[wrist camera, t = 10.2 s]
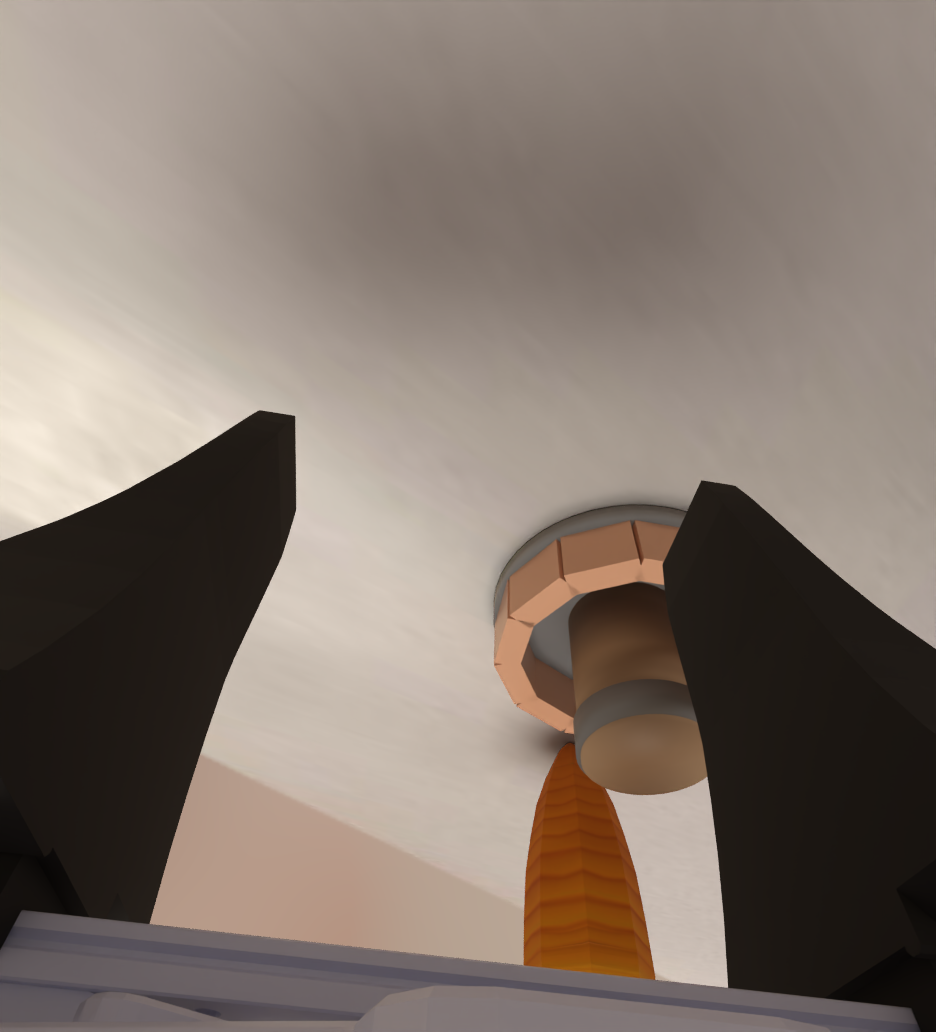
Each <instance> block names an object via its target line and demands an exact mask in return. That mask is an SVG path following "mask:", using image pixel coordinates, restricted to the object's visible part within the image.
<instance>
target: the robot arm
mask: <svg viewBox="0 0 936 1032" xmlns="http://www.w3.org/2000/svg"><path fill="white" fill-rule="evenodd" d="M295 512H296V452H295V416H292V415H286V414H280V413H273V412H267V411H261V410H259V411H257V412H256V413H254V414H252V415H250V416H249V417H247V418H246V419H244V420H243V421H241V422H239V423H238V424H236V425H235V426H233V427H232V428H230V429H229V430H227V431H226V432H224V433H222V434H221V435H219V436H218V437H216V438H215V439H213V440H212V441H210V442H208V443H207V444H205V445H204V446H202V447H200V448H199V449H197V450H196V451H194V452H192V453H191V454H189V455H188V456H186V457H184V458H183V459H181V460H179V461H178V462H176V463H174V464H172V465H170V466H169V467H167V468H165V469H163V470H161V471H160V472H158V473H156V474H154V475H152V476H151V477H149V478H147V479H145V480H143V481H141V482H140V483H138V484H136V485H134V486H132V487H131V488H129V489H127V490H125V491H123V492H121V493H119V494H117V495H115V496H113V497H110V498H108V499H106V500H104V501H102V502H100V503H98V504H95V505H93V506H91V507H88V508H86V509H84V510H81V511H79V512H77V513H75V514H72V515H70V516H68V517H65V518H63V519H60V520H58V521H55V522H53V523H50V524H47V525H44V526H41V527H39V528H36V529H33V530H30V531H27V532H25V533H22V534H19V535H16V536H13V537H11V538H8V539H5V540H2V541H0V1032H936V649H935V648H933V647H932V646H930V645H929V644H928V643H926V642H925V641H923V640H922V639H921V638H919V637H918V636H916V635H915V634H913V633H912V632H911V631H909V630H908V629H906V628H905V627H904V626H902V625H901V624H899V623H898V622H896V621H895V620H894V619H892V618H891V617H890V616H888V615H887V614H886V613H884V612H883V611H882V610H880V609H879V608H878V607H876V606H875V605H874V604H873V603H871V602H870V601H869V600H868V599H866V598H865V597H864V596H863V595H861V594H860V593H859V592H858V591H857V590H855V589H854V588H853V587H852V586H850V585H849V584H848V583H847V582H845V581H844V580H843V579H842V578H841V577H839V576H838V575H837V574H836V573H835V572H834V571H832V570H831V569H830V568H829V567H828V566H827V565H825V564H824V563H823V562H822V561H821V560H820V559H819V558H817V557H816V556H815V555H814V554H813V553H812V552H811V551H810V550H808V549H807V548H806V547H805V546H804V545H803V544H802V543H801V542H800V541H798V540H797V539H796V538H795V537H794V536H793V535H792V534H791V533H790V532H788V531H787V530H786V529H785V528H784V527H783V526H782V525H781V524H780V523H779V522H777V521H776V520H775V519H774V518H773V517H772V516H771V515H770V514H769V513H767V512H766V511H765V510H764V509H763V508H762V507H761V506H760V505H758V504H757V503H756V502H755V501H754V500H753V499H751V498H750V497H749V496H748V495H747V494H745V493H744V492H743V491H741V490H740V489H739V488H737V487H736V486H733V485H727V484H721V483H714V482H708V481H701V483H700V485H699V487H698V489H697V491H696V494H695V496H694V498H693V500H692V502H691V504H690V506H689V509H688V511H687V513H686V515H685V517H684V519H683V521H682V524H681V526H680V528H679V530H678V532H677V534H676V536H675V539H674V541H673V543H672V545H671V547H670V549H669V551H668V554H667V556H666V558H665V560H664V562H663V564H662V566H663V577H664V587H665V596H666V603H667V611H668V616H669V620H670V624H671V628H672V631H673V635H674V639H675V643H676V646H677V650H678V654H679V657H680V661H681V665H682V668H683V672H684V675H685V679H686V683H687V686H688V690H689V694H690V697H691V701H692V704H693V708H694V712H695V715H696V719H697V723H698V727H699V732H700V736H701V741H702V745H703V751H704V758H705V764H706V770H707V777H708V783H709V790H710V796H711V804H712V811H713V819H714V827H715V835H716V843H717V851H718V860H719V871H720V881H721V892H722V902H723V913H724V926H725V942H726V959H727V975H728V988H724V987H715V986H706V985H697V984H688V983H678V982H669V981H659V980H651V979H642V978H633V977H624V976H615V975H606V974H597V973H588V972H579V971H570V970H561V969H552V968H542V967H533V966H524V965H514V964H506V963H497V962H488V961H478V960H469V959H461V958H451V957H443V956H434V955H425V954H415V953H406V952H397V951H388V950H379V949H370V948H361V947H352V946H342V945H334V944H325V943H316V942H307V941H298V940H289V939H280V938H270V937H261V936H252V935H242V934H234V933H225V932H216V931H206V930H198V929H189V928H180V927H171V926H162V925H153V924H149V923H150V920H151V916H152V912H153V909H154V905H155V902H156V898H157V895H158V891H159V888H160V884H161V880H162V877H163V873H164V870H165V866H166V863H167V859H168V856H169V852H170V849H171V845H172V842H173V839H174V836H175V832H176V829H177V826H178V823H179V819H180V816H181V813H182V809H183V806H184V803H185V799H186V796H187V793H188V790H189V786H190V783H191V780H192V777H193V774H194V771H195V768H196V765H197V762H198V758H199V756H200V752H201V749H202V746H203V743H204V740H205V737H206V734H207V731H208V728H209V725H210V722H211V719H212V716H213V713H214V711H215V708H216V705H217V702H218V699H219V696H220V693H221V690H222V687H223V684H224V682H225V679H226V677H227V674H228V672H229V669H230V667H231V665H232V662H233V660H234V657H235V655H236V653H237V651H238V649H239V647H240V645H241V643H242V640H243V638H244V636H245V634H246V632H247V630H248V628H249V626H250V623H251V621H252V619H253V617H254V615H255V613H256V611H257V609H258V607H259V604H260V602H261V600H262V598H263V596H264V594H265V592H266V590H267V587H268V585H269V583H270V581H271V579H272V577H273V575H274V572H275V570H276V568H277V566H278V564H279V561H280V559H281V557H282V554H283V551H284V548H285V545H286V542H287V538H288V535H289V532H290V529H291V525H292V522H293V519H294V515H295Z"/></svg>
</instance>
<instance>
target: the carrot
mask: <svg viewBox="0 0 936 1032" xmlns="http://www.w3.org/2000/svg"><path fill="white" fill-rule="evenodd" d="M524 966H533V967H542V968H552V969H561V970H570V971H579V972H588V973H597V974H606V975H615V976H624V977H633V978H642V979H651V980H655V973H654V967H653V961H652V956H651V950H650V944H649V938H648V932H647V927H646V921H645V916H644V911H643V906H642V901H641V896H640V891H639V886H638V881H637V876H636V872H635V869H634V865H633V862H632V859H631V855H630V852H629V849H628V846H627V842H626V839H625V836H624V833H623V830H622V827H621V825H620V822H619V819H618V816H617V813H616V810H615V807H614V805H613V803H612V801H611V799H610V797H609V795H608V793H607V791H606V789H605V788H604V787H602V786H600V785H598V784H597V783H595V782H594V781H592V780H591V779H590V778H589V777H588V776H587V775H586V774H585V773H584V772H583V771H582V770H581V769H580V767H579V765H578V763H577V759H576V751H575V745H574V744H573V743H567V744H566V745H565V746H564V747H562V748H561V750H560V751H559V753H558V755H557V757H556V759H555V761H554V763H553V765H552V767H551V769H550V771H549V773H548V775H547V777H546V779H545V782H544V785H543V788H542V791H541V794H540V797H539V799H538V802H537V805H536V811H535V816H534V822H533V827H532V833H531V838H530V846H529V853H528V860H527V867H526V880H525V908H524Z"/></svg>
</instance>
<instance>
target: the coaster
mask: <svg viewBox="0 0 936 1032" xmlns="http://www.w3.org/2000/svg"><path fill="white" fill-rule="evenodd" d="M686 513H687V512H685V511H680V510H676V509H671V508H667V507H658V506H649V505H626V506H616V507H608V508H603V509H598V510H592V511H589V512H585V513H582V514H579V515H576V516H573V517H570V518H568V519H565V520H563V521H561V522H558V523H556V524H554V525H553V526H551V527H549V528H547V529H545V530H544V531H542V532H540V533H539V534H538V535H536V536H535V537H533V538H532V539H531V540H529V541H528V542H527V543H526V544H525V545H524V546H523V547H522V548H521V549H519V550H518V551H517V552H516V554H515V555H514V556H513V557H512V559H511V560H510V561H509V562H508V564H507V565H506V567H505V569H504V571H503V572H502V574H501V576H500V579H499V581H498V584H497V587H496V592H495V597H494V628H495V640H494V666H495V668H496V670H497V672H498V674H499V676H500V678H501V680H502V681H503V683H504V685H505V687H506V689H507V691H508V693H509V695H510V697H511V699H512V701H513V702H514V704H517V707H519V708H521V709H522V710H524V711H526V712H528V713H529V714H531V715H533V716H535V717H536V718H538V719H540V720H542V721H544V722H545V723H547V724H549V725H551V726H552V727H554V728H556V729H558V730H559V731H562V730H564V731H565V733H571V734H574V728H573V720H574V715H575V713H576V703H575V692H574V681H573V671H572V660H571V650H570V639H569V628H568V620H569V615H570V612H571V611H572V609H573V607H574V606H575V604H576V603H577V602H578V601H579V600H580V599H581V598H582V597H584V596H585V595H586V594H588V593H590V592H591V591H596V590H600V589H605V588H610V587H614V586H619V585H623V584H628V583H632V582H639V583H646V584H650V585H653V586H656V587H658V588H660V589H662V590H664V591H665V587H664V577H663V566H662V564H663V562H664V560H665V558H666V556H667V554H668V551H669V549H670V547H671V545H672V543H673V541H674V539H675V536H676V534H677V532H678V530H679V528H680V526H681V524H682V521H683V519H684V517H685V515H686Z"/></svg>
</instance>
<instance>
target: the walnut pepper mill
mask: <svg viewBox="0 0 936 1032" xmlns="http://www.w3.org/2000/svg"><path fill="white" fill-rule="evenodd" d="M568 628H569V639H570V650H571V660H572V671H573V681H574V692H575V703H576V713H575V715H574V720H573V728H574V739H575V751H576V759H577V763H578V765H579V767H580V769H581V770H582V771H583V772H584V773H585V774H586V775H587V776H588V777H589V778H590V779H591V780H592V781H594V782H595V783H597V784H598V785H600V786H602V787H604V788H607V789H610V790H613V791H616V792H620V793H625V794H634V795H655V794H664V793H669V792H674V791H678V790H681V789H684V788H687V787H690V786H692V785H694V784H696V783H698V782H700V781H701V780H703V779H704V778H706V777H707V770H706V764H705V758H704V751H703V745H702V741H701V736H700V732H699V727H698V723H697V719H696V715H695V712H694V708H693V704H692V701H691V697H690V694H689V690H688V686H687V683H686V679H685V675H684V672H683V668H682V665H681V661H680V657H679V654H678V650H677V646H676V643H675V639H674V635H673V631H672V628H671V624H670V620H669V616H668V611H667V603H666V596H665V591H664V590H662V589H660V588H658V587H656V586H653V585H650V584H646V583H639V582H632V583H628V584H623V585H619V586H614V587H610V588H605V589H600V590H596V591H591V592H590V593H588V594H586V595H585V596H584V597H582V598H581V599H580V600H579V601H578V602H577V603H576V604H575V606H574V607H573V609H572V611H571V612H570V615H569V620H568Z"/></svg>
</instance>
